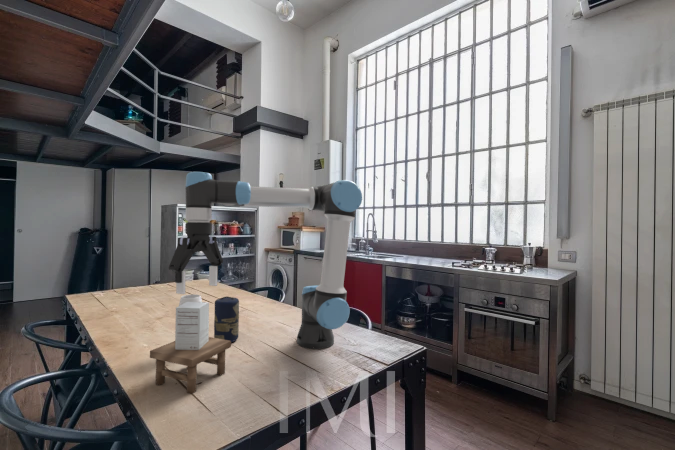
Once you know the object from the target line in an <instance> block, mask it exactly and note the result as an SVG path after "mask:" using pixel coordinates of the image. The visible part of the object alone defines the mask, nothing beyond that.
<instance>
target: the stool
mask: <svg viewBox="0 0 675 450" xmlns="http://www.w3.org/2000/svg"><path fill="white" fill-rule="evenodd" d="M208 340H209V341H208V342H207V343H206V344H205V345H204V346H203V347H202V348H201V349H199V350H176V349H175V340H174V341H172V342H168V343H166V344H163V345H161V346H159V347H156V348H154V349H150V350H149V358H150V359H154V360H155V385H156V386H162V385H164V384H165V383H166V377H167V378H170V379H175V380H178V381H182V382H186V393H187V394H194V393H196V392H197V367H198V365H199V364H201V363H206V364H210V365H211V364H212V365H214V366H216V375H218V376H224V375H225V374H226V351H227V350H228V349H230V348H231V347H232V342H231V341H229V340H223V339H218V338H214V337H211V336H209V339H208ZM216 355H217V357H215V356H216ZM166 362H168V363H173V364H176V365H182V366H186V367H187V371H186V372H185V373H184V372H180V371H177V370H171V369H168V368H166Z"/></svg>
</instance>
